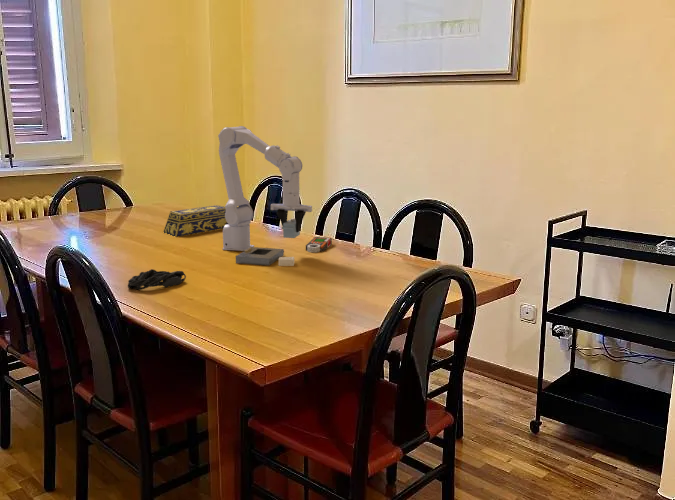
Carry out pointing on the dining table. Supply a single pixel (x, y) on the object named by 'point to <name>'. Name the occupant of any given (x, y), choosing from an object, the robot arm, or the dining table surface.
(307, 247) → the electronic device
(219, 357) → the dining table surface
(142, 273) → the cable
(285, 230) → the block
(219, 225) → the decorative box
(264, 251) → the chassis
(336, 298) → the dining table surface
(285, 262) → the box
